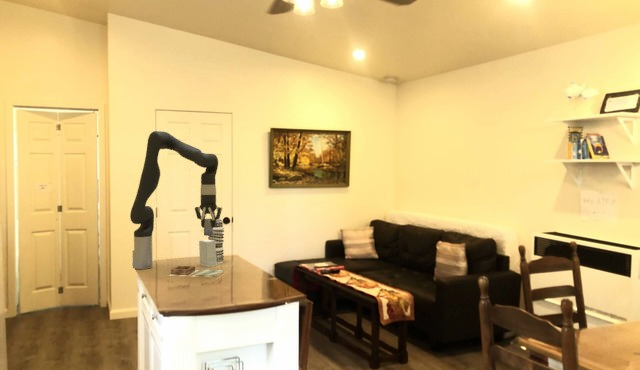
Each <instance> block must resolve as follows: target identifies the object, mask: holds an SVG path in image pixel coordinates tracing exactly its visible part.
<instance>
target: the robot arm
mask: <svg viewBox="0 0 640 370" xmlns="http://www.w3.org/2000/svg"><path fill="white" fill-rule="evenodd" d="M160 150H170V151H173V152H176V153H177V154H179V155H180V157H182V158H184V159H186V160H189V161H190V162H192V163H194V164H196V166H199V167H201V168H204V169H205V171H204V172H203V173H201V175H200V205H199V206H196V207H194V211H195V215H196V219H198V220H200V225H201V228H202V229H204V219H206V216H207V214H209V215H210V216H211V219H212V228H215V226H216V219H221V218H220V217H221V214H222V210H223V207H220V206H218V205H217V187H216V175H217V171H218V166H219V159H218V156H217V155H216V154H214V153H204V152H202V150H201V149H199V148H197V147H195V146H192V145H190V144H188V143H185V142H183V141H181V140H180V139H178V138H177V137H175V136H174V135H172V134H171V133H168V132H167V131H162V130H161V131H157V130H156V131H151V133H150V134H149V135H148V137H147V144H146V153H145V158H144V163H143V167H142V172H141V176H140V179H139V184H138V188H137V192H136V196H135V198H134V201H133V204H132V207H131V211H130V215H129V216H130V221H131V223H133V224H134V225H139V227H138V228H137V229H135V230H134V231H133V250H132V269H135V270H146V269H147V270H148V269H151V268H153V232H154V225H155V223H154V222H155V213H154V209H153V208H152V207H151V206H149V205H147V202H148V200H149V198H150V197H151V196H152V195H153V193H154V192H155V190H156V189H157V187H158V186H159V185H158V184H159V182H160V178H161V169H160V166H159V163H158V159H159V158H158V157H159V154H160ZM201 211H202V212H201ZM215 211H216V212H215Z"/></svg>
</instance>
